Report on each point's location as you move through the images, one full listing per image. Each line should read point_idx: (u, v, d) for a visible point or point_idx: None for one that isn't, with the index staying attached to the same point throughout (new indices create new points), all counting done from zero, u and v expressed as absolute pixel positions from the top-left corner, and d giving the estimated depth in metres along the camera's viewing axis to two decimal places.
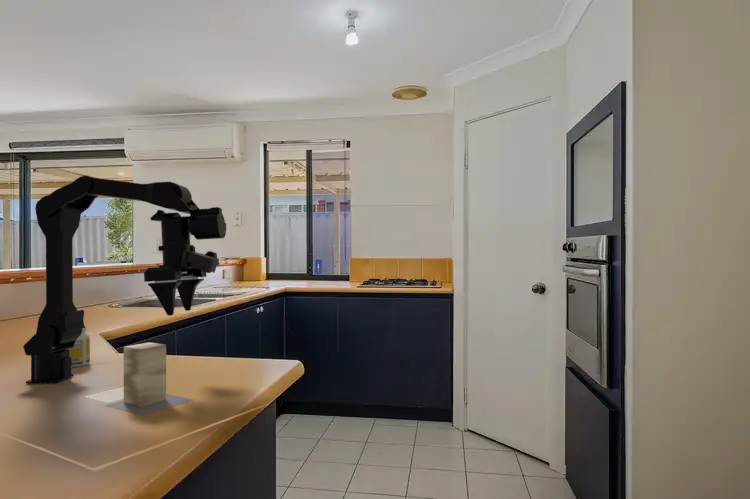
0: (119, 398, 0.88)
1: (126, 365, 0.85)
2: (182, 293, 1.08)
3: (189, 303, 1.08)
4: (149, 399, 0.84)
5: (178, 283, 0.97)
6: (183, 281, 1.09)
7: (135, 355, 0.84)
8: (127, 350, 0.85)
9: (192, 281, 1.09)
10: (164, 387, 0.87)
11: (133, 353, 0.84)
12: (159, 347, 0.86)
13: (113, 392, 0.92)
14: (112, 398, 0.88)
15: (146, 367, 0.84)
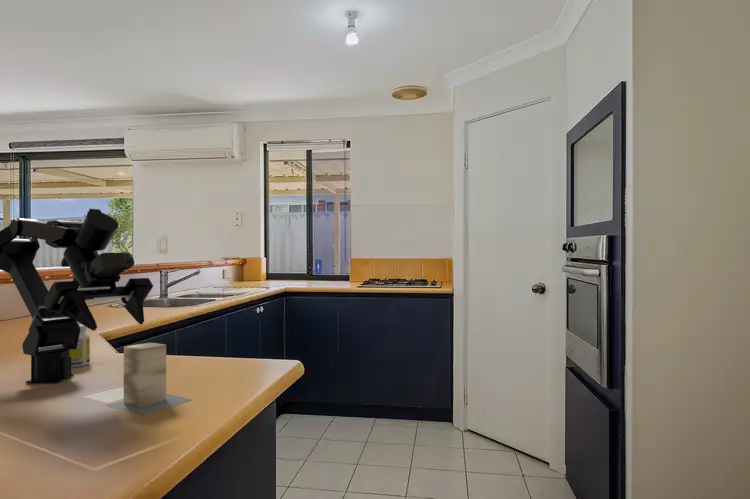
0: (119, 398, 0.88)
1: (126, 365, 0.85)
2: (132, 311, 0.96)
3: (139, 315, 0.95)
4: (149, 399, 0.84)
5: (76, 292, 0.87)
6: (128, 301, 0.98)
7: (135, 355, 0.84)
8: (127, 350, 0.85)
9: (133, 294, 0.97)
10: (164, 387, 0.87)
11: (133, 353, 0.84)
12: (159, 347, 0.86)
13: (113, 392, 0.92)
14: (112, 398, 0.88)
15: (146, 367, 0.84)
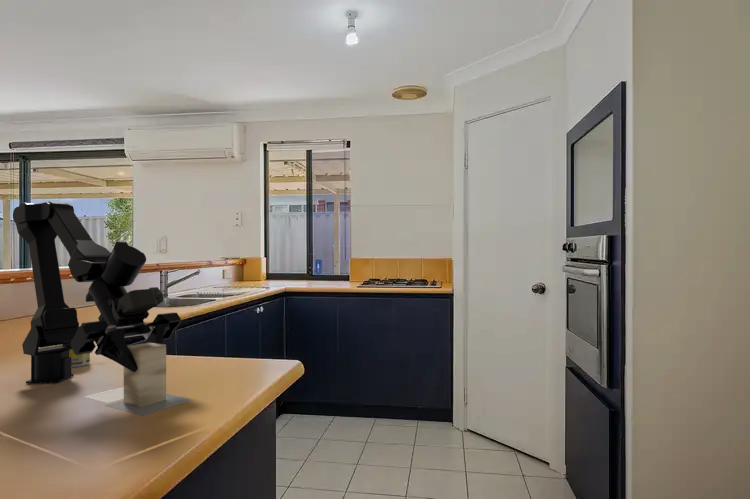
0: (119, 398, 0.88)
1: None
2: None
3: None
4: (149, 399, 0.84)
5: (116, 332, 0.83)
6: (148, 339, 0.91)
7: (135, 355, 0.84)
8: None
9: (152, 333, 0.90)
10: (164, 387, 0.87)
11: (133, 353, 0.84)
12: (159, 347, 0.86)
13: (113, 392, 0.92)
14: (112, 398, 0.88)
15: (146, 367, 0.84)
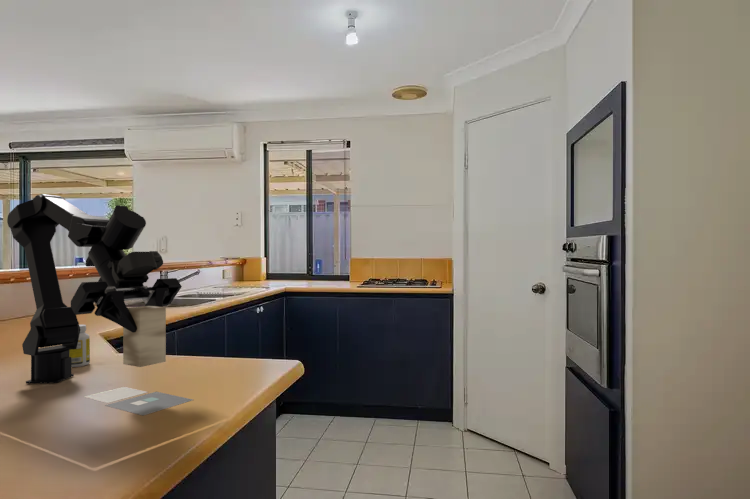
0: (119, 398, 0.88)
1: None
2: None
3: None
4: (149, 360, 0.84)
5: (116, 293, 0.83)
6: (147, 303, 0.91)
7: (135, 316, 0.84)
8: None
9: (152, 296, 0.91)
10: (164, 349, 0.87)
11: (133, 314, 0.84)
12: (159, 309, 0.86)
13: (113, 392, 0.92)
14: (112, 398, 0.88)
15: (146, 328, 0.84)
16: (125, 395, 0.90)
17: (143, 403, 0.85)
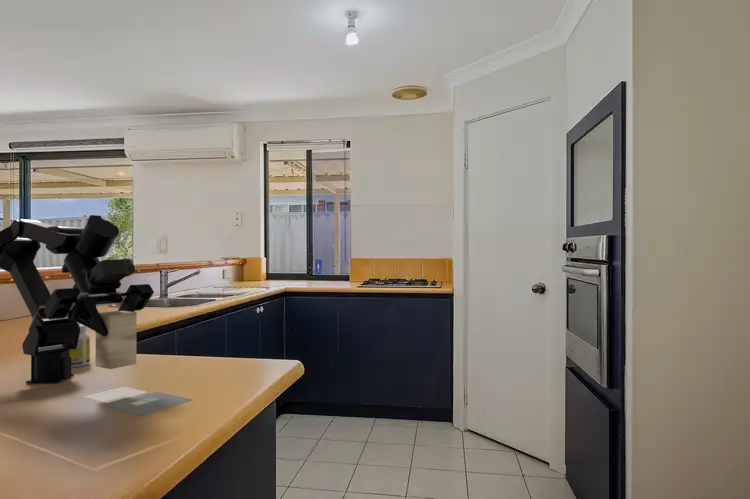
0: (119, 398, 0.88)
1: None
2: None
3: None
4: (119, 362, 0.89)
5: (88, 299, 0.88)
6: (120, 308, 0.96)
7: (106, 320, 0.88)
8: None
9: (124, 302, 0.95)
10: (134, 352, 0.92)
11: (104, 318, 0.89)
12: (129, 314, 0.91)
13: (113, 392, 0.92)
14: (112, 398, 0.88)
15: (116, 332, 0.89)
16: (125, 395, 0.90)
17: (143, 403, 0.85)
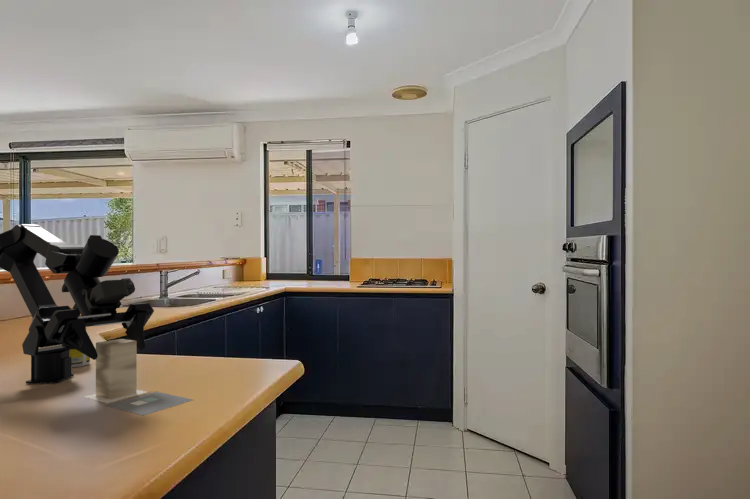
0: (119, 398, 0.88)
1: (98, 360, 0.90)
2: (133, 337, 0.96)
3: (139, 341, 0.95)
4: (119, 392, 0.89)
5: (77, 322, 0.86)
6: (129, 326, 0.97)
7: (106, 350, 0.88)
8: (98, 345, 0.90)
9: (134, 320, 0.97)
10: (134, 381, 0.91)
11: (104, 348, 0.89)
12: (129, 343, 0.91)
13: None
14: None
15: (116, 362, 0.89)
16: None
17: (143, 403, 0.85)
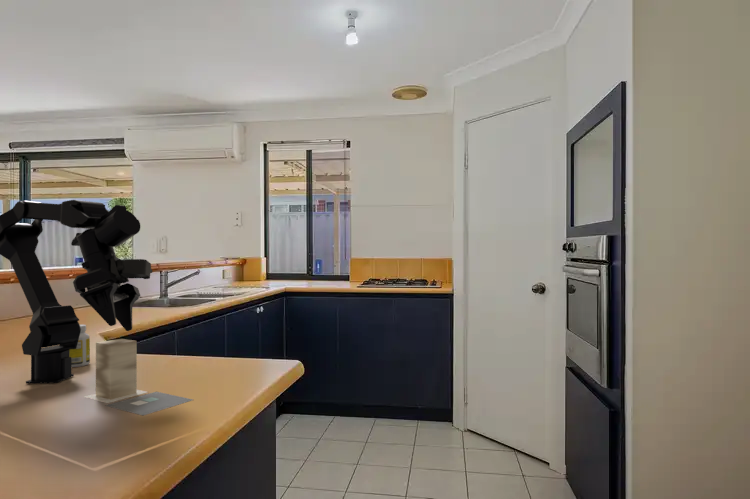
0: (119, 398, 0.88)
1: (98, 360, 0.90)
2: (119, 315, 1.00)
3: (129, 322, 0.99)
4: (119, 392, 0.89)
5: (114, 286, 0.90)
6: (116, 303, 1.00)
7: (106, 350, 0.88)
8: (98, 345, 0.90)
9: (126, 299, 1.01)
10: (134, 381, 0.91)
11: (104, 348, 0.89)
12: (129, 343, 0.91)
13: None
14: None
15: (116, 362, 0.89)
16: None
17: (143, 403, 0.85)
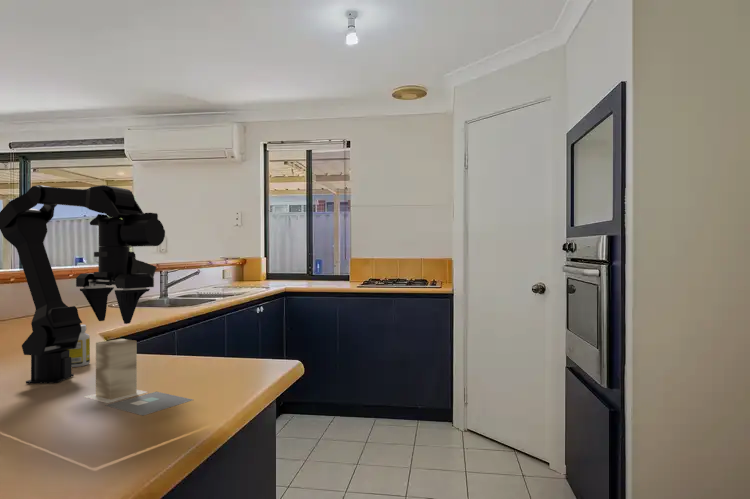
0: (119, 398, 0.88)
1: (98, 360, 0.90)
2: (96, 303, 1.01)
3: (104, 313, 1.02)
4: (119, 392, 0.89)
5: None
6: (96, 290, 1.01)
7: (106, 350, 0.88)
8: (98, 345, 0.90)
9: (105, 289, 1.03)
10: (134, 381, 0.91)
11: (104, 348, 0.89)
12: (129, 343, 0.91)
13: None
14: None
15: (116, 362, 0.89)
16: None
17: (143, 403, 0.85)
